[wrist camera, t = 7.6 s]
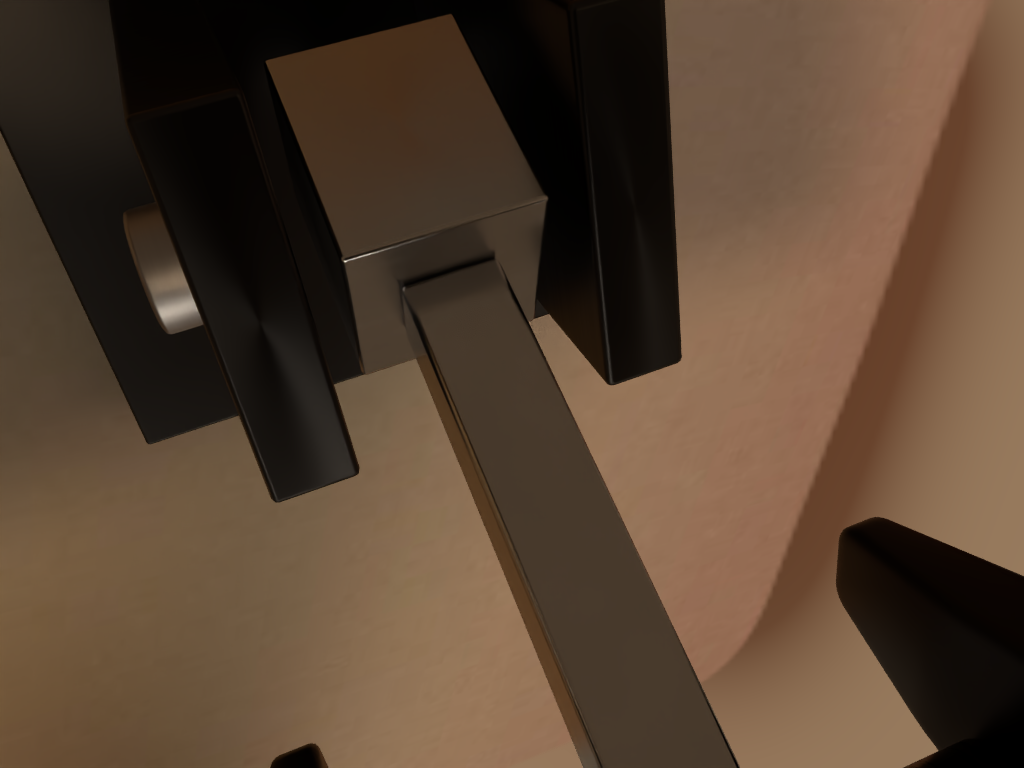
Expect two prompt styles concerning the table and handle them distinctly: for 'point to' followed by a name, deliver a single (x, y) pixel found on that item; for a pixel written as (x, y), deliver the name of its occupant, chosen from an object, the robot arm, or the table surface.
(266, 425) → the lever bracket
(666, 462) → the table surface
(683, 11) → the table surface
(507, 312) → the switch lever
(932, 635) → the robot arm
